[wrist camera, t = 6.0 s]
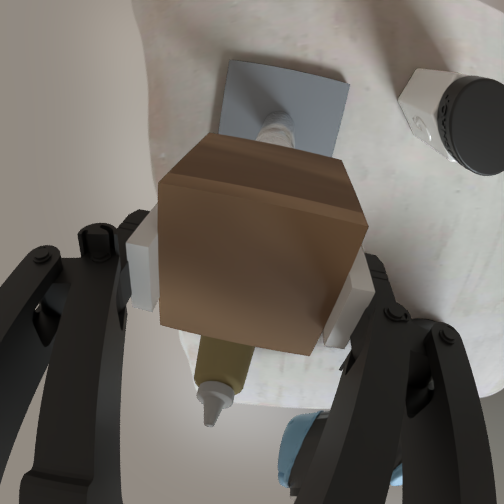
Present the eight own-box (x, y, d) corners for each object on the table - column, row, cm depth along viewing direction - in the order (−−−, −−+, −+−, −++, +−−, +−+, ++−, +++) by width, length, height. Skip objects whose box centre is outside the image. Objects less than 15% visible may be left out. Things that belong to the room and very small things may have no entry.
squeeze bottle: (198, 323, 50) (167, 421, 35) (221, 293, 45) (190, 401, 30) (242, 344, 51) (223, 442, 36) (268, 317, 47) (255, 426, 32)
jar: (385, 82, 27) (431, 94, 17) (443, 56, 24) (506, 61, 14) (419, 153, 31) (468, 196, 21) (473, 126, 28) (533, 160, 18)
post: (290, 142, 31) (289, 183, 21) (261, 136, 31) (246, 174, 21) (296, 114, 29) (299, 141, 19) (267, 108, 29) (253, 132, 19)
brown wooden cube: (308, 265, 17) (309, 356, 12) (197, 242, 17) (160, 325, 12) (341, 160, 13) (368, 226, 8) (209, 132, 13) (158, 182, 8)
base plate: (321, 185, 35) (322, 190, 33) (216, 164, 35) (213, 168, 34) (347, 83, 28) (350, 84, 27) (232, 59, 28) (229, 59, 27)
